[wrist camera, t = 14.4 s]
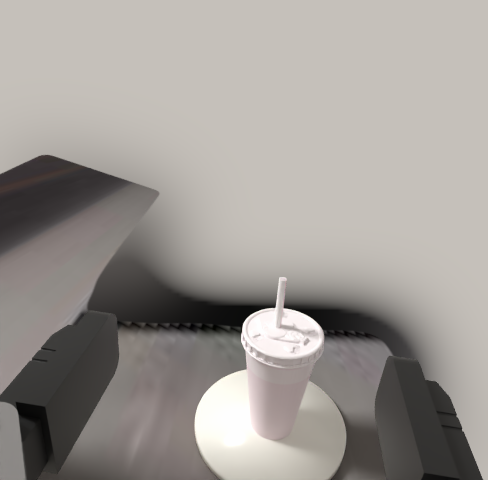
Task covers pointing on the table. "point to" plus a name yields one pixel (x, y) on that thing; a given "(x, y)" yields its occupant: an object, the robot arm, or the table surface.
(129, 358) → the table surface
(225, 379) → the plate
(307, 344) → the smoothie
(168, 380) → the table surface
